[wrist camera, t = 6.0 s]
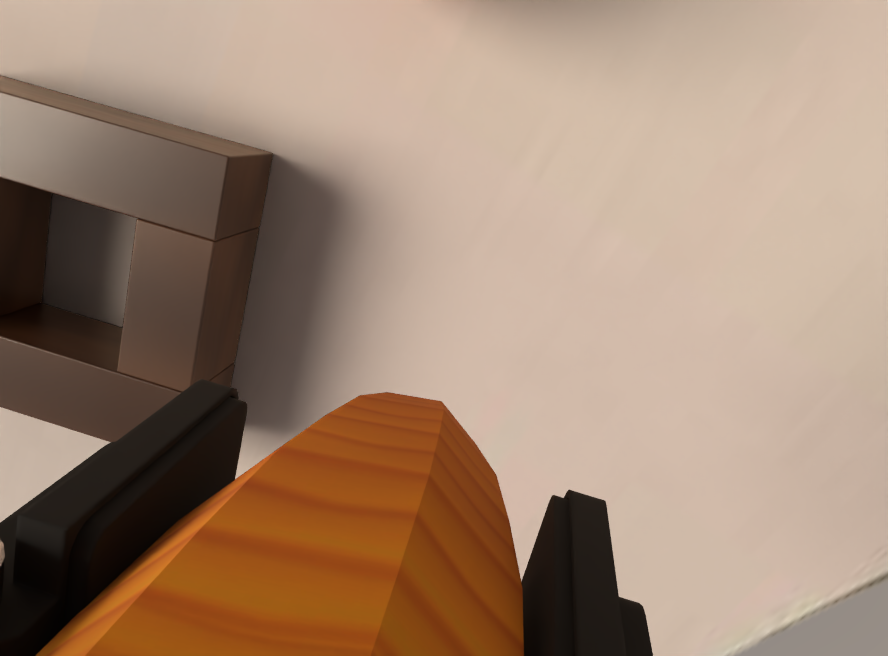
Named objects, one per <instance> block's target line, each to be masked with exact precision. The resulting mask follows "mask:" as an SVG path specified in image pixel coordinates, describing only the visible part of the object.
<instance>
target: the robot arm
mask: <svg viewBox="0 0 888 656" xmlns="http://www.w3.org/2000/svg"><path fill="white" fill-rule="evenodd" d="M238 398H239V397H238V391H237V389H234V388H230V387H227V386H224V385H220V384H217V383H214V382H210V381H207V380H204V379H200V380H198V381H197V382H195V383H194V384H193V385H191V386H190V387H188V388H187V389H186V390H184V391H183V392H182V393H180V394H179V395H178V396H176V397H175V398H174V399H172V400H171V401H170V402H168V403H167V404H166V405H164V406H163V407H162V408H160V409H159V410H158V411H156V412H155V413H154V414H152V415H151V416H149V417H148V418H147V419H145V420H144V421H143V422H141V423H140V424H139V425H137V426H136V427H135V428H133V429H132V430H131V431H129V432H128V433H127V434H125V435H124V436H123V437H121V438H120V439H119V440H117V441H116V442H111V443H109V444H107V445H106V446H104V447H103V448H101V449H100V450H99V451H97V452H96V453H95V454H93V455H92V456H90V457H89V458H88V459H86V460H85V461H84V462H82V463H81V464H80V465H78V466H77V467H75V468H74V469H73V470H71V471H70V472H69V473H67V474H66V475H65V476H63V477H62V478H61V479H59V480H58V481H56V482H55V483H54V484H52V485H51V486H50V487H48V488H47V489H46V490H44V491H43V492H41V493H40V494H39V495H37V496H36V497H35V498H33V499H32V500H31V501H29V502H28V503H27V504H25V505H24V506H22V507H21V508H20V509H18V510H17V511H16V512H14V513H13V514H12V515H10V516H9V517H7V518H6V519H5V520H3V521H2V522H1V523H0V656H35V655H36V654H37V653H38V652H39V651H40V650H41V649H42V648H43V647H44V646H46V645H47V644H48V643H49V642H50V641H51V640H52V639H53V638H54V637H55V636H56V635H57V634H58V633H59V632H60V631H61V630H62V629H63V628H64V627H65V626H66V625H67V624H68V623H69V622H70V621H71V620H72V619H73V618H74V617H75V616H76V615H77V614H78V613H79V612H80V611H81V610H83V609H84V608H85V607H86V606H87V605H89V604H90V603H91V602H92V601H93V600H94V599H95V598H96V597H97V596H98V595H99V594H100V593H101V592H102V591H103V590H104V589H105V588H106V587H107V586H108V585H110V584H111V583H112V582H113V581H114V580H115V579H116V578H117V577H118V576H119V575H120V574H121V573H122V572H123V571H124V570H125V569H127V568H128V567H129V566H130V565H131V564H132V563H133V562H134V561H135V560H136V559H137V558H138V557H139V556H141V555H142V554H143V553H144V552H145V551H146V550H147V549H148V548H149V547H150V546H151V545H152V544H153V543H154V542H156V541H157V540H158V539H159V538H160V537H161V536H162V535H163V534H164V533H165V532H166V531H167V530H168V529H170V528H171V527H172V526H173V525H174V524H175V523H176V522H177V521H178V520H180V519H181V518H182V517H184V516H185V515H187V514H188V513H189V512H191V511H192V510H194V509H195V508H196V507H198V506H199V505H201V504H202V503H203V502H205V501H206V500H208V499H209V498H210V497H212V496H213V495H214V494H216V493H217V492H219V491H220V490H221V489H223V488H224V487H226V486H227V485H228V484H230V483H231V482H233V481H234V480H235V475H236V470H237V464H238V459H239V453H240V448H241V442H242V436H243V431H244V425H245V420H246V414H247V403H246V402H245V401H241V400H238ZM521 584H522V592H523V637H524V656H653V653H652V648H651V642H650V637H649V632H648V626H647V621H646V615H645V612H644V609H643V606H642V605H641V604H640V603H637V602H634V601H631V600H627V599H624V598H621V597H619V596H618V588H617V581H616V574H615V566H614V559H613V551H612V544H611V536H610V529H609V521H608V514H607V507H606V502H605V501H604V500H601V499H598V498H594V497H591V496H588V495H584V494H581V493H578V492H575V491H571V490H568V491H567V493H566V495H565V497H564V498H561V497H558V496H555V495H553V496H552V497H551V499H550V502H549V504H548V507H547V510H546V513H545V516H544V518H543V521H542V524H541V527H540V530H539V533H538V536H537V539H536V542H535V544H534V547H533V550H532V553H531V556H530V559H529V562H528V565H527V568H526V570H525V573H524V576H523V579H522V582H521Z"/></svg>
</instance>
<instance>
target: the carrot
mask: <svg viewBox="0 0 888 656" xmlns="http://www.w3.org/2000/svg"><path fill="white" fill-rule="evenodd" d="M35 656H524V637H523V592H522V584H521V579H520V573H519V568H518V563H517V558H516V553H515V548H514V543H513V538H512V533H511V528H510V523H509V519H508V515H507V512H506V508H505V505H504V501H503V498H502V494H501V490H500V487H499V483H498V480H497V476H496V474H495V472H494V471H493V469H492V468H491V466H490V465H489V463H488V462H487V460H486V459H485V457H484V456H483V454H482V453H481V451H480V450H479V448H478V447H477V445H476V444H475V442H474V441H473V440H472V439H471V437H470V436H469V435H468V434H467V432H466V431H465V430H464V429H463V427H462V426H461V425H460V424H459V422H458V421H457V420H456V419H455V417H454V416H453V415H452V414H451V412H450V411H449V410H448V409H447V408H446V406H445V405H444V404H443V403H442V401H436V400H430V399H424V398H418V397H412V396H406V395H400V394H395V393H389V392H386V393H377V394H368V395H360V396H358V397H356V398H355V399H353V400H351V401H349V402H348V403H346V404H344V405H343V406H341V407H339V408H337V409H336V410H334V411H332V412H330V413H329V414H327V415H325V416H324V417H322V418H321V419H320V420H318V421H317V422H315V423H314V424H312V425H311V426H310V427H308V428H307V429H305V430H304V431H303V432H301V433H300V434H298V435H297V436H295V437H294V438H293V439H291V440H290V441H288V442H287V443H286V444H284V445H283V446H281V447H280V448H278V449H277V450H276V451H274V452H273V453H272V454H270V455H269V456H267V457H266V458H265V459H263V460H262V461H260V462H259V463H258V464H256V465H255V466H253V467H252V468H251V469H249V470H248V471H246V472H245V473H244V474H242V475H241V476H240V477H238V478H237V479H235V480H234V481H233V482H231V483H230V484H228V485H227V486H226V487H224V488H223V489H221V490H220V491H219V492H217V493H216V494H214V495H213V496H212V497H210V498H209V499H208V500H206V501H205V502H203V503H202V504H201V505H199V506H198V507H196V508H195V509H194V510H192V511H191V512H189V513H188V514H187V515H185V516H184V517H182V518H181V519H180V520H178V521H177V522H176V523H175V524H174V525H173V526H172V527H171V528H170V529H168V530H167V531H166V532H165V533H164V534H163V535H162V536H161V537H160V538H159V539H158V540H157V541H156V542H154V543H153V544H152V545H151V546H150V547H149V548H148V549H147V550H146V551H145V552H144V553H143V554H142V555H141V556H139V557H138V558H137V559H136V560H135V561H134V562H133V563H132V564H131V565H130V566H129V567H128V568H127V569H125V570H124V571H123V572H122V573H121V574H120V575H119V576H118V577H117V578H116V579H115V580H114V581H113V582H112V583H111V584H110V585H108V586H107V587H106V588H105V589H104V590H103V591H102V592H101V593H100V594H99V595H98V596H97V597H96V598H95V599H94V600H93V601H92V602H91V603H90V604H89V605H87V606H86V607H85V608H84V609H83V610H81V611H80V612H79V613H78V614H77V615H76V616H75V617H74V618H73V619H72V620H71V621H70V622H69V623H68V624H67V625H66V626H65V627H64V628H63V629H62V630H61V631H60V632H59V633H58V634H57V635H56V636H55V637H54V638H53V639H52V640H51V641H50V642H49V643H48V644H47V645H46V646H44V647H43V648H42V649H41V650H40V651H39V652H38V653H37V654H36V655H35Z"/></svg>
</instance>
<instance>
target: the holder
mask: <svg viewBox="0 0 888 656" xmlns="http://www.w3.org/2000/svg"><path fill="white" fill-rule="evenodd" d="M272 157H273V153H271V152H268V151H264V150H261V149H257V148H253V147H250V146H246V145H243V144H239V143H236V142H232V141H229V140H225V139H222V138H218V137H215V136H211V135H208V134H204V133H201V132H197V131H194V130H190V129H187V128H183V127H180V126H176V125H173V124H169V123H165V122H162V121H158V120H155V119H151V118H148V117H144V116H141V115H137V114H134V113H130V112H127V111H123V110H120V109H116V108H113V107H109V106H106V105H102V104H99V103H95V102H92V101H88V100H85V99H81V98H78V97H74V96H70V95H67V94H63V93H60V92H56V91H53V90H49V89H46V88H42V87H39V86H35V85H32V84H28V83H25V82H21V81H18V80H14V79H11V78H7V77H4V76H0V407H2V408H6V409H9V410H12V411H15V412H18V413H21V414H24V415H28V416H31V417H34V418H37V419H40V420H43V421H46V422H49V423H53V424H56V425H59V426H62V427H65V428H68V429H71V430H75V431H78V432H81V433H84V434H87V435H90V436H93V437H96V438H100V439H103V440H106V441H109V442H116V441H117V440H119V439H120V438H121V437H123V436H124V435H125V434H127V433H128V432H129V431H131V430H132V429H133V428H135V427H136V426H137V425H139V424H140V423H141V422H143V421H144V420H145V419H147V418H148V417H149V416H151V415H152V414H154V413H155V412H156V411H158V410H159V409H160V408H162V407H163V406H164V405H166V404H167V403H168V402H170V401H171V400H172V399H174V398H175V397H176V396H178V395H179V394H180V393H182V392H183V391H184V390H186V389H187V388H188V387H190V386H191V385H193V384H194V383H195V382H197V381H198V380H200V379H204V380H207V381H210V382H214V383H217V384H220V385H224V386H227V387H230V386H231V381H232V375H233V370H234V364H235V363H234V361H235V358H236V353H237V347H238V342H239V336H240V331H241V325H242V320H243V314H244V309H245V303H246V298H247V292H248V287H249V281H250V276H251V270H252V265H253V259H254V254H255V249H256V243H257V238H258V232H259V228H258V227H259V226H260V222H261V217H262V211H263V206H264V200H265V195H266V189H267V184H268V179H269V173H270V168H271V162H272ZM52 193H54V194H57V195H60V196H64V197H67V198H71V199H74V200H77V201H81V202H84V203H88V204H91V205H94V206H98V207H101V208H105V209H108V210H111V211H115V212H118V213H122V214H125V215H128V216H132V217H135V218H138V219H137V221H136V228H135V236H134V244H133V251H132V259H131V267H130V275H129V282H128V290H127V298H126V306H125V313H124V321H123V328H120V327H117V326H114V325H111V324H107V323H104V322H101V321H98V320H94V319H91V318H88V317H85V316H81V315H78V314H75V313H72V312H68V311H65V310H62V309H59V308H55V307H52V306H49V305H46V304H42V303H41V301H42V293H43V282H44V271H45V261H46V250H47V239H48V228H49V217H50V206H51V195H52Z"/></svg>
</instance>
